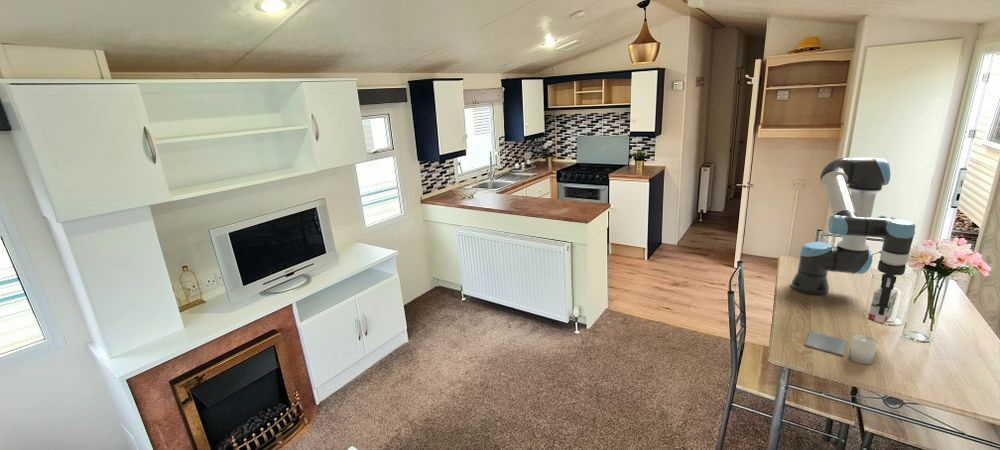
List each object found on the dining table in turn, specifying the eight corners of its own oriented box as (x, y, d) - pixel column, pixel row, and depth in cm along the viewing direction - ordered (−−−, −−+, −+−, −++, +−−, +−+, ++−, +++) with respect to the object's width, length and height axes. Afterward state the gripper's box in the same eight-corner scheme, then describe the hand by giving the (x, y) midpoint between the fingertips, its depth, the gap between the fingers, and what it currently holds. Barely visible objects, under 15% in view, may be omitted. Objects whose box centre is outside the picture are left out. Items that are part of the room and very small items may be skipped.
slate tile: (810, 332, 180) (810, 331, 179) (846, 342, 172) (847, 341, 172) (804, 345, 171) (804, 344, 171) (843, 356, 163) (843, 355, 163)
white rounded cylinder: (849, 351, 166) (853, 332, 164) (873, 357, 162) (877, 338, 159) (847, 360, 161) (851, 340, 159) (872, 366, 157) (876, 347, 154)
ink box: (883, 324, 164) (890, 296, 160) (867, 319, 168) (873, 291, 164) (891, 317, 168) (898, 289, 165) (875, 312, 172) (882, 285, 169)
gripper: (881, 250, 171) (869, 301, 178) (877, 269, 156) (864, 325, 163) (907, 254, 166) (894, 307, 173) (905, 274, 151) (891, 331, 158)
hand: (879, 315), depth 168 cm, fingers closed on ink box, 9 cm apart
